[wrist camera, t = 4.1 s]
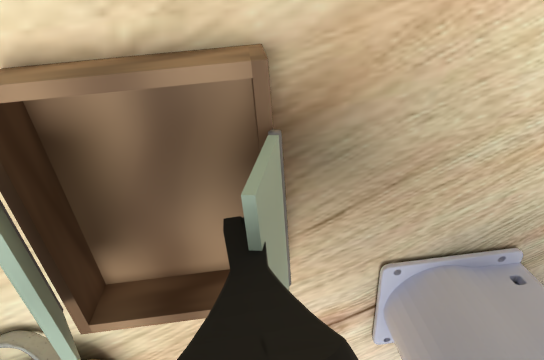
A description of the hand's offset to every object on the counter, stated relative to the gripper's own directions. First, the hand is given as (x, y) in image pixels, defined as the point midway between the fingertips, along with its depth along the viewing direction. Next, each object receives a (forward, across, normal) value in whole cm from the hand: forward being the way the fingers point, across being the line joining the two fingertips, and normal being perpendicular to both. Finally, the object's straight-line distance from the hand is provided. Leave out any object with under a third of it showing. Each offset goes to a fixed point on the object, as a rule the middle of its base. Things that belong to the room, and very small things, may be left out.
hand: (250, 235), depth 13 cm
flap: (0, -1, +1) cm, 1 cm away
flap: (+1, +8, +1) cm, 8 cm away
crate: (+6, +4, +1) cm, 7 cm away
